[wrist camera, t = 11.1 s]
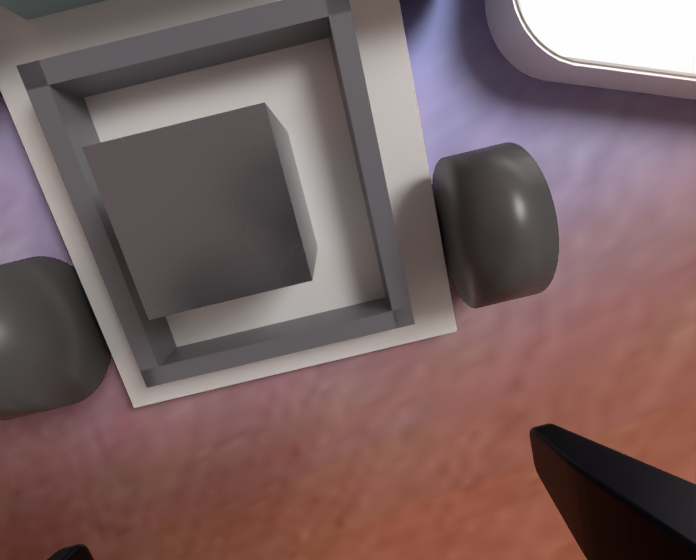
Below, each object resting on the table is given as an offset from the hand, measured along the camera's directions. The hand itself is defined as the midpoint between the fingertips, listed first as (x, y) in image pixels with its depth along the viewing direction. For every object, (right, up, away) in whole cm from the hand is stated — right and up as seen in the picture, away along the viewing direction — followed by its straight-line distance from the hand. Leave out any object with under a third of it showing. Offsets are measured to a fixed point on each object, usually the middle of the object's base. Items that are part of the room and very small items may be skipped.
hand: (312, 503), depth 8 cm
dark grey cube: (-4, +8, +9) cm, 12 cm away
